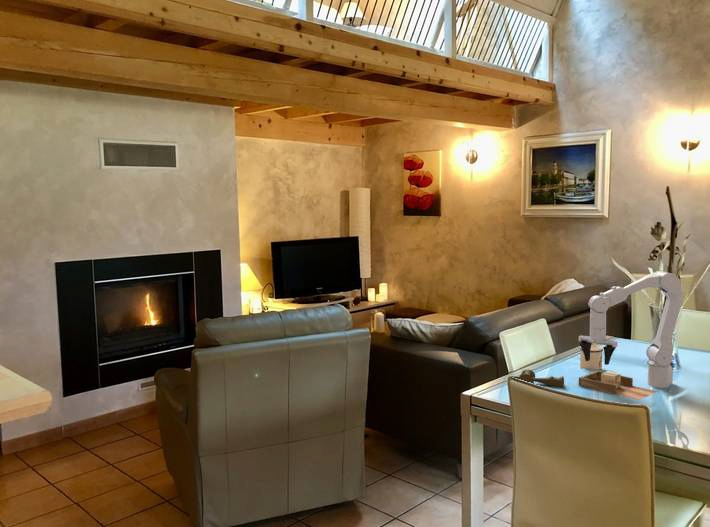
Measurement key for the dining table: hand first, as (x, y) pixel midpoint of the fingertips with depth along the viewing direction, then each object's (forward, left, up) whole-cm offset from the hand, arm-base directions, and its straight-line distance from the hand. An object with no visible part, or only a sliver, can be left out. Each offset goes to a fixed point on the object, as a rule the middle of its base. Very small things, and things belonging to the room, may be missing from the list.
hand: (597, 362), depth 224 cm
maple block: (0, +5, -8) cm, 10 cm away
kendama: (+16, -16, -10) cm, 25 cm away
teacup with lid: (-22, -15, -10) cm, 28 cm away
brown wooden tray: (0, +8, -9) cm, 12 cm away
